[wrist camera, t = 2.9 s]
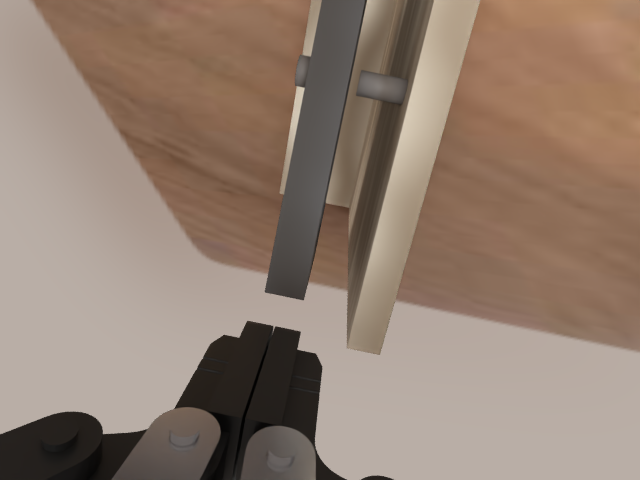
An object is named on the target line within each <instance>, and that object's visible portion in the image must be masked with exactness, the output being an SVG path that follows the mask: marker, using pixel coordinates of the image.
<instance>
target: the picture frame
mask: <svg viewBox="0 0 640 480" xmlns="http://www.w3.org/2000/svg"><path fill="white" fill-rule="evenodd" d="M366 3H367V0H322V2H321V7H320V12H319V17H318V22H317V28H316V33H315V38H314V43H313V48H312V53H311V57H310V56H305V55H300V56H299V60H298V64H297V69H296V76H295V86H298V87H303V88H305V89H304V94H303V99H302V104H301V109H300V114H299V120H298V125H297V130H296V135H295V140H294V145H293V150H292V155H291V160H290V166H289V171H288V176H287V181H286V186H285V191H284V196H283V201H282V206H281V212H280V217H279V222H278V227H277V232H276V237H275V242H274V247H273V253H272V258H271V263H270V268H269V273H268V278H267V283H266V288H265V292H266V293H271V294H276V295H281V296H285V297H290V298H296V299H300V300H304V297H305V293H306V289H307V285H308V281H309V277H310V273H311V269H312V265H313V261H314V256H315V252H316V247H317V242H318V237H319V232H320V227H321V223H322V218H323V213H324V208H325V203H326V198H327V193H328V189H329V184H330V179H331V174H332V169H333V164H334V159H335V154H336V150H337V145H338V140H339V135H340V130H341V125H342V120H343V115H344V111H345V106H346V101H347V96H348V91H349V86H350V81H351V77H352V72H353V67H354V62H355V57H356V52H357V47H358V42H359V38H360V33H361V28H362V23H363V18H364V13H365V8H366Z"/></svg>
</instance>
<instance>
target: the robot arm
mask: <svg viewBox="0 0 640 480" xmlns="http://www.w3.org/2000/svg"><path fill="white" fill-rule="evenodd" d="M300 333H301V332H299V331H294V330H290V329H285V328H281V327H275V329H274V332H273V326H271V325H266V324H261V323H256V322H251V321H247V323H246V325H245V327H244V329H243V331H242V333H241V336H240V338H237V337H232V336H227V335H223V336H222V337H220V338H219V339H217V340H216V341H214V342H213V343H211V344H210V346H209V348H208V349H207V351H206V353H205V355H204V357H203V359H202V360H201V362H200V364H199V365H198V368H197V370H196V371H195V373H194V374H193V376H192V378H191V380H190V382H189V383H188V385H187V387H186V389H185V391H184V392H183V394H182V396H181V398H180V399H179V401H178V403H177V405H176V407H175V408H174V409H173V410H170V411H168V412H165V413H163V414H162V415H160V416H159V417H158V418H156V419H155V420H154V421H153V423H152V424H151V425H150V427H149V428H148V429H146V430H143V431H138V432H131V433H117V434H103V430H102V426H101V424H100V422H99V421H98V420H97V419H96V418H94V417H93V416H91V415H89V414H86V413H82V412H62V413H57V414H53V415H50V416H47V417H44V418H42V419H39V420H37V421H34V422H31V423H29V424H26V425H24V426H21V427H18V428H16V429H13V430H11V431H8V432H6V433H3V434H0V480H346V479H344V478H342V477H340V476H339V475H337V474H335V473H334V472H333V471H331V470H330V469H329V468H328V467H327V466H326V465H325V464H324V463H323V462H322V460H321V459H320V457H319V455H318V454H317V451H316V447H315V432H316V422H317V413H318V403H319V392H320V385H321V384H320V383H321V375H322V365H321V363H320V361H319V359H318V357H317V355H316V354H315V353H310V352H305V351H300V350H297V348H298V343H299V338H300ZM272 334H273V335H272ZM361 480H393V479H391V478H388V477H384V476H369V477H365V478H363V479H361Z"/></svg>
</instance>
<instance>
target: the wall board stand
mask: <svg viewBox="0 0 640 480" xmlns="http://www.w3.org/2000/svg"><path fill="white" fill-rule="evenodd" d="M321 2H322V0H311V5H310V11H309V17H308V23H307V29H306V35H305V41H304V47H303V54H302V55H305V56H310V57H311V53H312V48H313V43H314V38H315V33H316V28H317V22H318V17H319V12H320V7H321ZM479 3H480V0H367V3H366V8H365V13H364V18H363V23H362V28H361V33H360V38H359V42H358V47H357V52H356V57H355V62H354V67H353V72H352V77H351V81H350V86H349V91H348V96H347V101H346V106H345V111H344V115H343V120H342V125H341V130H340V135H339V140H338V145H337V150H336V154H335V159H334V164H333V169H332V174H331V179H330V184H329V189H328V193H327V198H326V203H328V204H333V205H338V206H342V207H347V208H349V239H348V305H347V306H348V308H347V311H348V312H347V348H349V349H354V350H359V351H363V352H368V353H373V354H378V355H380V352H381V349H382V345H383V342H384V338H385V335H386V331H387V328H388V324H389V320H390V317H391V313H392V309H393V306H394V303H395V299H396V296H397V292H398V289H399V285H400V282H401V278H402V275H403V271H404V268H405V264H406V260H407V257H408V253H409V250H410V246H411V243H412V239H413V236H414V232H415V229H416V225H417V222H418V218H419V215H420V211H421V208H422V204H423V201H424V197H425V193H426V190H427V186H428V183H429V179H430V176H431V172H432V169H433V165H434V162H435V158H436V155H437V151H438V148H439V144H440V141H441V137H442V133H443V130H444V126H445V123H446V119H447V116H448V112H449V109H450V105H451V102H452V98H453V95H454V91H455V88H456V84H457V81H458V77H459V73H460V70H461V66H462V63H463V59H464V56H465V52H466V49H467V45H468V42H469V38H470V35H471V31H472V28H473V24H474V21H475V17H476V13H477V10H478V6H479ZM304 89H305V88H303V87H298V86H297V90H296V96H295V102H294V108H293V114H292V120H291V126H290V132H289V138H288V144H287V150H286V157H285V163H284V169H283V175H282V181H281V187H280V193H279V194H284V191H285V186H286V181H287V176H288V171H289V166H290V160H291V155H292V150H293V145H294V140H295V135H296V130H297V125H298V120H299V114H300V109H301V104H302V99H303V94H304Z"/></svg>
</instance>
